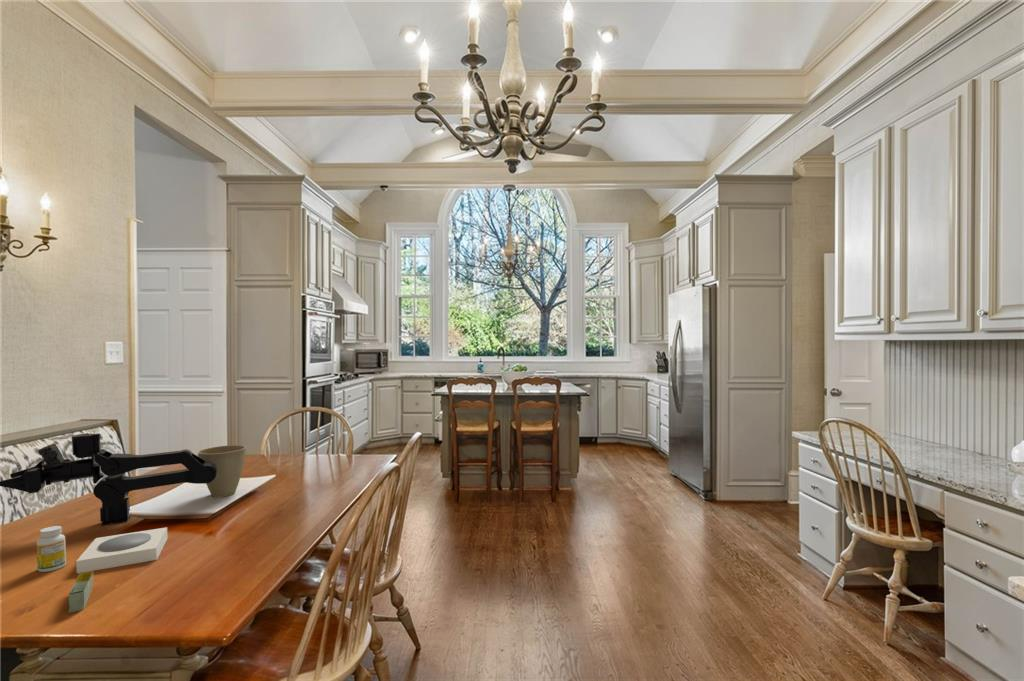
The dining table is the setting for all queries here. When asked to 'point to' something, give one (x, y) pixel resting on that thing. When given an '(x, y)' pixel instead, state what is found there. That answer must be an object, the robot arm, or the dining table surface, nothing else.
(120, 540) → the plinth
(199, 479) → the robot arm
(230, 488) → the plant pot
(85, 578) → the medication box
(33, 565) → the dining table surface
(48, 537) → the supplement bottle
